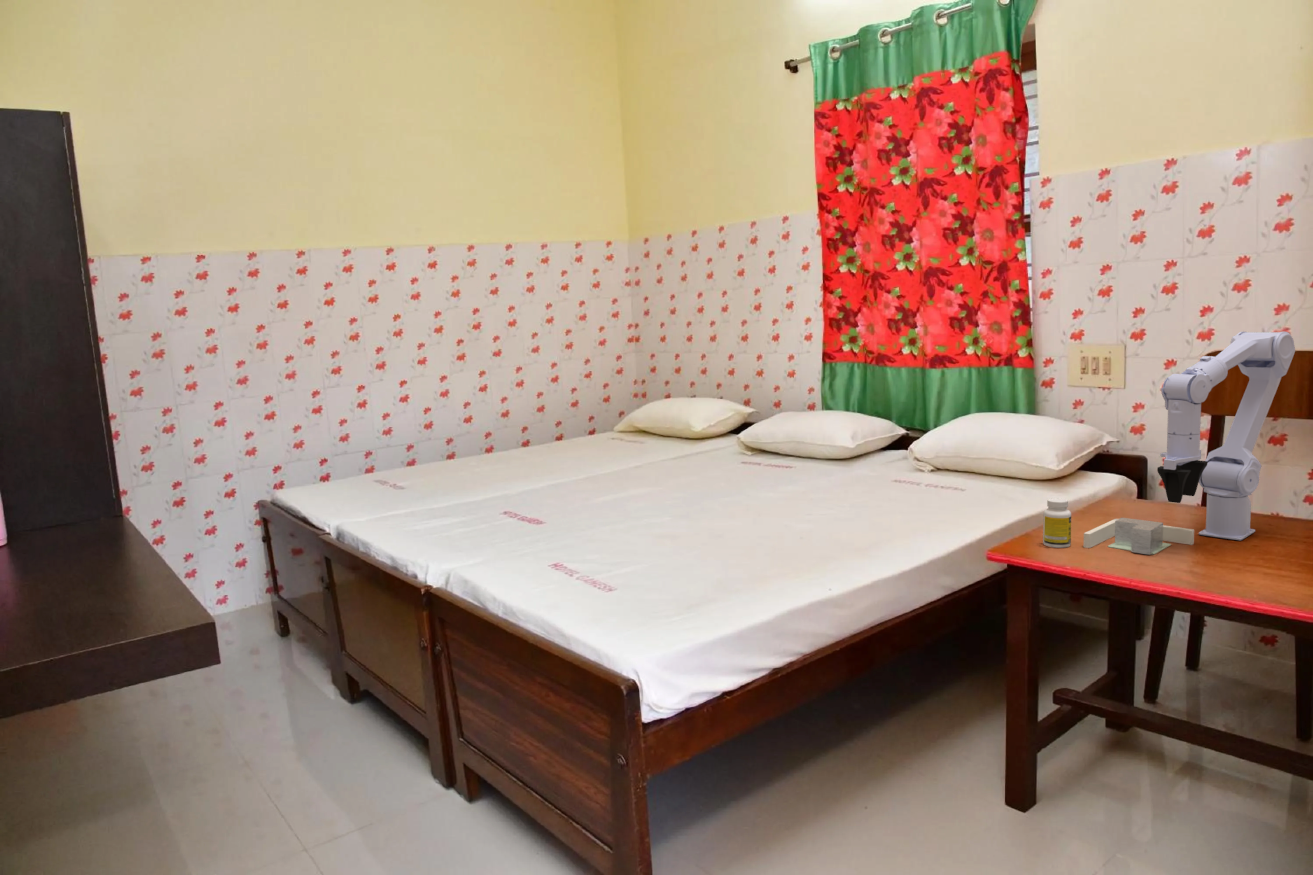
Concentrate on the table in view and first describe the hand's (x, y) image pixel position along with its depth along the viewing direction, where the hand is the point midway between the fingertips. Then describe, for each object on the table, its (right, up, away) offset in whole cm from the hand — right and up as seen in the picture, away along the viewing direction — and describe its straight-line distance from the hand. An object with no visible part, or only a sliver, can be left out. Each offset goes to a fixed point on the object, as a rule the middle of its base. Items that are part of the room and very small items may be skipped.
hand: (1181, 498), depth 179 cm
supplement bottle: (-22, -11, +7) cm, 26 cm away
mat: (-7, -10, +3) cm, 13 cm away
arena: (-7, -10, +3) cm, 13 cm away
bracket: (-9, -10, +1) cm, 13 cm away
